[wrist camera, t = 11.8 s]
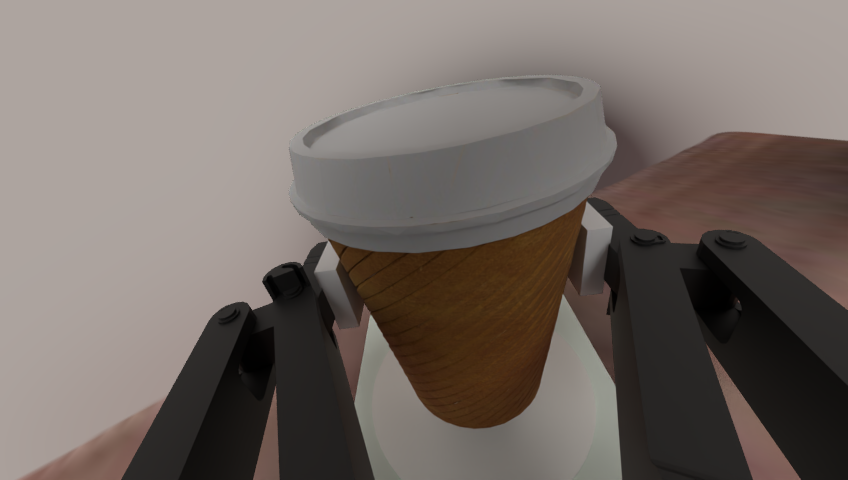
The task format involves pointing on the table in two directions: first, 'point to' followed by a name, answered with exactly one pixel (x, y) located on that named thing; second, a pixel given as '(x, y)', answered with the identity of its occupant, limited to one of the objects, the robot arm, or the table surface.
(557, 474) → the coaster board
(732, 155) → the table surface
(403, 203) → the disposable coffee cup
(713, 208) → the table surface
